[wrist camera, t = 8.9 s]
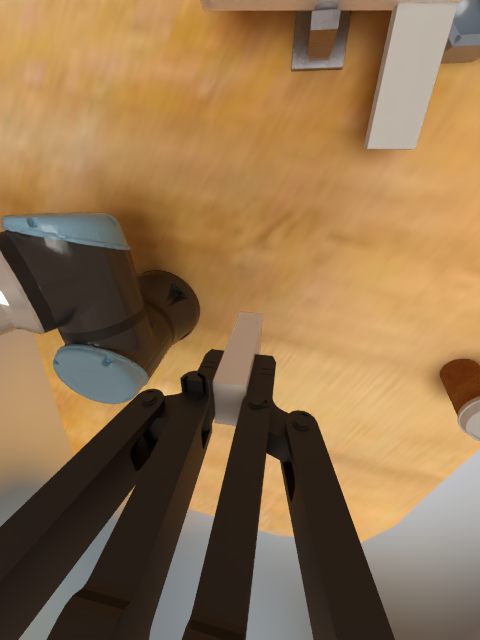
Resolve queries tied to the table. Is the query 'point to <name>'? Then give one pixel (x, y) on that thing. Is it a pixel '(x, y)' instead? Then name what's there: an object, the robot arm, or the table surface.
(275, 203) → the table surface
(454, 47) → the cup
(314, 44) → the trough stand
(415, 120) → the lever
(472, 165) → the table surface
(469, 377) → the disposable coffee cup
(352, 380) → the table surface
